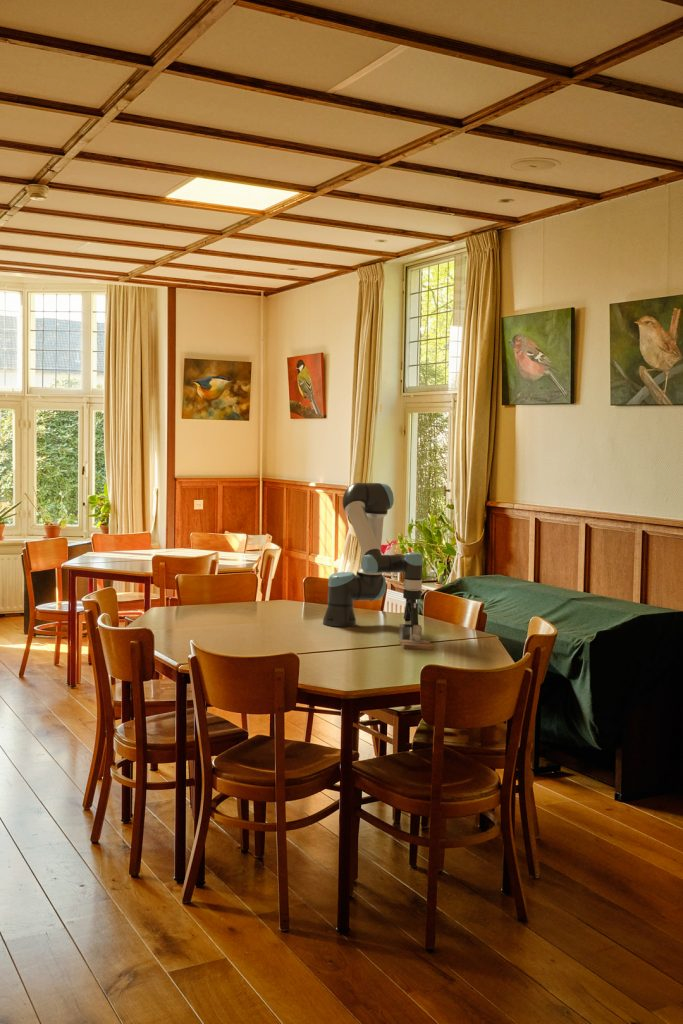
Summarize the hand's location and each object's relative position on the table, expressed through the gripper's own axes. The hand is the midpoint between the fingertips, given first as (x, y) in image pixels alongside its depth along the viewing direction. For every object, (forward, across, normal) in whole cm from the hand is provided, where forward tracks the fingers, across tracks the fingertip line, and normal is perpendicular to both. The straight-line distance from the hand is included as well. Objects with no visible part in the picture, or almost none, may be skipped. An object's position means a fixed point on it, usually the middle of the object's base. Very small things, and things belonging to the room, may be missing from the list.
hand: (410, 639), depth 423 cm
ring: (0, 0, 0) cm, 0 cm away
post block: (0, +14, 0) cm, 14 cm away
